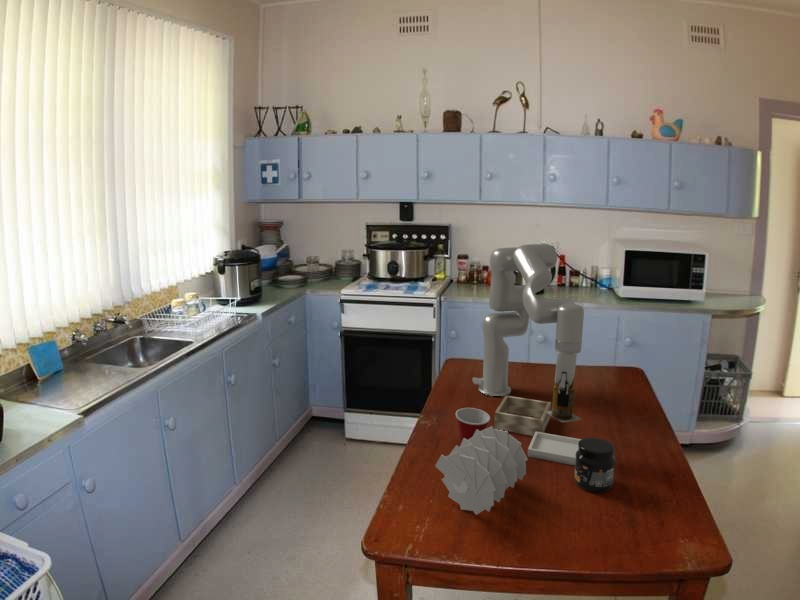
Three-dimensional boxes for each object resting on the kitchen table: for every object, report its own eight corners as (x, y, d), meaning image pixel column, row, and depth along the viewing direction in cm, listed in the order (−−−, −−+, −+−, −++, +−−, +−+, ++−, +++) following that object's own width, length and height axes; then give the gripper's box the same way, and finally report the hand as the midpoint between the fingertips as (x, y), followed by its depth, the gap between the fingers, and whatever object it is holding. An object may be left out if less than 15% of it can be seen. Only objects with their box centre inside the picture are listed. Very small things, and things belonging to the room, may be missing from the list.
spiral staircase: (515, 494, 167) (472, 535, 147) (467, 453, 174) (420, 486, 154) (546, 448, 159) (505, 484, 139) (494, 407, 167) (449, 436, 147)
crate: (494, 429, 198) (494, 412, 197) (504, 410, 212) (505, 395, 211) (542, 437, 192) (543, 420, 191) (549, 418, 206) (550, 402, 205)
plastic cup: (480, 461, 177) (481, 424, 174) (448, 452, 182) (449, 416, 180) (494, 447, 186) (496, 412, 183) (463, 438, 191) (464, 404, 188)
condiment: (564, 409, 184) (567, 372, 181) (581, 419, 176) (584, 382, 173) (544, 412, 181) (547, 375, 178) (561, 423, 173) (564, 385, 171)
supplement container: (573, 471, 171) (576, 434, 168) (611, 477, 168) (615, 439, 165) (573, 490, 161) (576, 451, 158) (613, 497, 158) (617, 456, 156)
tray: (527, 456, 180) (527, 449, 179) (535, 438, 192) (535, 431, 191) (588, 468, 173) (589, 460, 172) (592, 448, 185) (593, 441, 184)
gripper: (559, 336, 183) (555, 390, 187) (550, 352, 168) (547, 410, 172) (584, 338, 180) (580, 393, 185) (577, 355, 165) (573, 414, 169)
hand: (564, 401), depth 178 cm, fingers closed on condiment, 6 cm apart
